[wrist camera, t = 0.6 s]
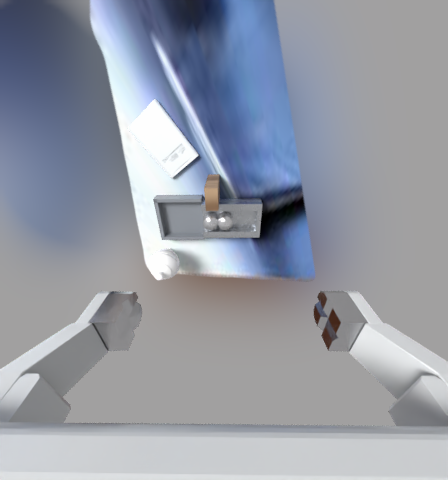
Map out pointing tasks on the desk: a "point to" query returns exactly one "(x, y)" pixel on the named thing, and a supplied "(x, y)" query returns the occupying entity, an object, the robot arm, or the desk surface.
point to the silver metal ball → (225, 221)
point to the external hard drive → (162, 139)
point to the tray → (179, 216)
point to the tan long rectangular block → (212, 193)
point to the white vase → (163, 264)
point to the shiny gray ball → (210, 221)
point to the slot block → (237, 218)
